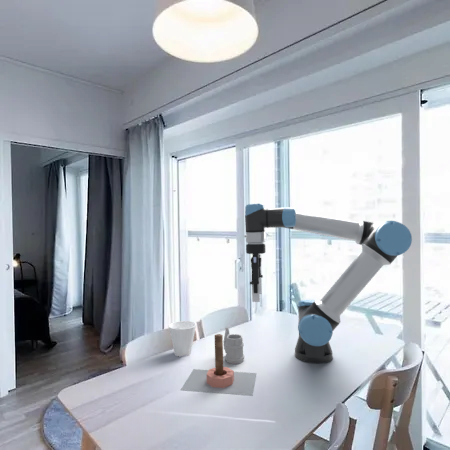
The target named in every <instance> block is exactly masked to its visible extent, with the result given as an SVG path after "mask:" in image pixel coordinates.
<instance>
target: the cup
mask: <svg viewBox="0 0 450 450" xmlns="http://www.w3.org/2000/svg"><path fill="white" fill-rule="evenodd" d="M196 326H197V323H196V322H194V321H190V320H180V321H174V322H172V323H169V325H168V329H169V334H170V339H171V342H172V347H173V352H174V355H175V356H176V357H178V356H179V357H180V358H182V357H185V356H187V357H188V356H190V355H191V354H192V349H193V343H194V339H195V332H196V328H197V327H196ZM179 357H178V358H179Z"/></svg>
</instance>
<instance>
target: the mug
mask: <svg viewBox="0 0 450 450" xmlns="http://www.w3.org/2000/svg"><path fill="white" fill-rule="evenodd" d="M243 342H244V341H243V335H241V334H237V333H236V334H234V333H231V334H230V329H229V327H228V326H227V327H225V332H224V336H223V351H224V352H225V356H224V358H225V361H226V362H227V363H228V364H233V365H238V364H241V363H243V362H244V359H245V355H244V343H243Z"/></svg>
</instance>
